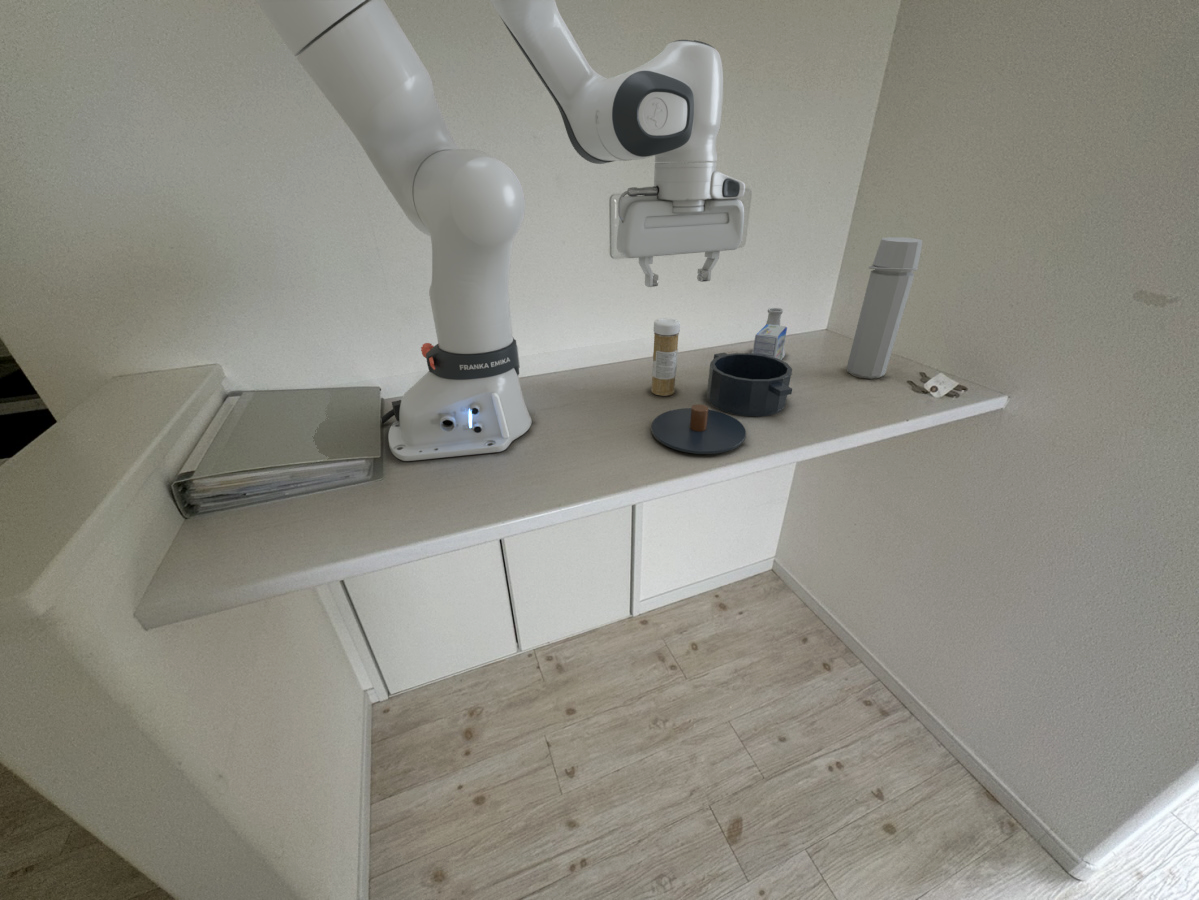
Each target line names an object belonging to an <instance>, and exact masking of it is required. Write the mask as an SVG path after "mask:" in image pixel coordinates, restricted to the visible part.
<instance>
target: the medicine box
mask: <svg viewBox="0 0 1199 900" xmlns="http://www.w3.org/2000/svg"><path fill="white" fill-rule="evenodd" d="M787 330H788V327H787V326H785V325H780V326H779V325H766V324H765V325H764V326H762V328H761V329H760V330H759V331H758V332H757V333H756V334H754V335H755V336H754V341H753V348H752V351H753V354H761V355H766V356H770V357H774V358H778V359H780V360H782V359H783V358H782V355H783V349H784V350H785V343H786V336H787V333H788V331H787ZM782 361H783V360H782Z"/></svg>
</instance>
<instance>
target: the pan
mask: <svg viewBox="0 0 1199 900" xmlns="http://www.w3.org/2000/svg"><path fill="white" fill-rule="evenodd" d="M792 373H793V368H792V367H791V365H790V364H789V363H788V362H786V361H784V360H780V359H778V358H774V357H770V356H766V355H761V354H752V352H733V353H727V352H720V353H714V354H713V359H712V360H711V361H710V363H709V371H708V379H707V380H708V381H707V389H706V396H707V397H706V398H707V401H708V403H709V404H710V405H711V406H712V407H714V408H715V409H717V410H719V411H721V412H723V413H726V414H730V415H735V416H741V417H754V418H755V417H759V418H760V417H768V416H772V415H776V414H778V413H780V412H782V411H783V410H784V409H785V407H786V404H787V399H788V396H789V395H792V393H793V388H792V387H790V383H791V378H792Z"/></svg>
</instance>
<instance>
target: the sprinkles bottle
mask: <svg viewBox="0 0 1199 900" xmlns="http://www.w3.org/2000/svg"><path fill="white" fill-rule="evenodd" d="M680 331H681V322H680V320H678V319H676V318H671V317H662V318H657V319H655V320H654V322H653V336H654V337H653V352H652V353H653V354H652V366H651V367H652V369H651V377H652V379H651V389H650V391H651V393H652V394H653V395H656V396H663V397H666V396H671V395H673V394H675V392H676V389H675V387H676V376H677V367H678V366H677V363H678V351H679V349H678V345H679V335H680Z"/></svg>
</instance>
